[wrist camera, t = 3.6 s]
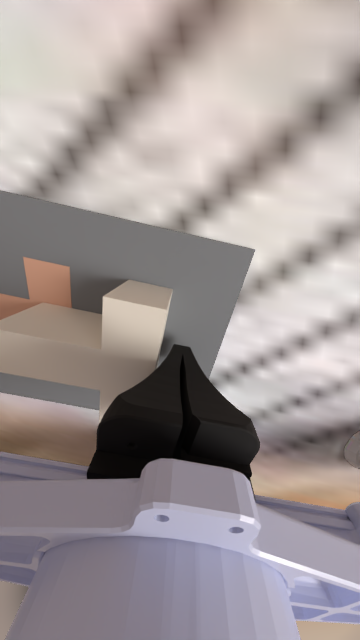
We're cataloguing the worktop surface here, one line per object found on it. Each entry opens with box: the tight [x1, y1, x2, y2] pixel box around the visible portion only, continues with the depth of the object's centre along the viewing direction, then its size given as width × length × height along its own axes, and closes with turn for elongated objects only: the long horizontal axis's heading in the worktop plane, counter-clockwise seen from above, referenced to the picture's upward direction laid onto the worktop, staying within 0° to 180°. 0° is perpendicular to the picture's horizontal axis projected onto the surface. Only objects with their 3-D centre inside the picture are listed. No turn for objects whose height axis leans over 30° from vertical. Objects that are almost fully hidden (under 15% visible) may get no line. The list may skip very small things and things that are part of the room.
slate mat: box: [0, 191, 255, 410], centre depth 14 cm, size 17×22×1 cm
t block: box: [0, 280, 173, 423], centre depth 12 cm, size 9×9×4 cm
